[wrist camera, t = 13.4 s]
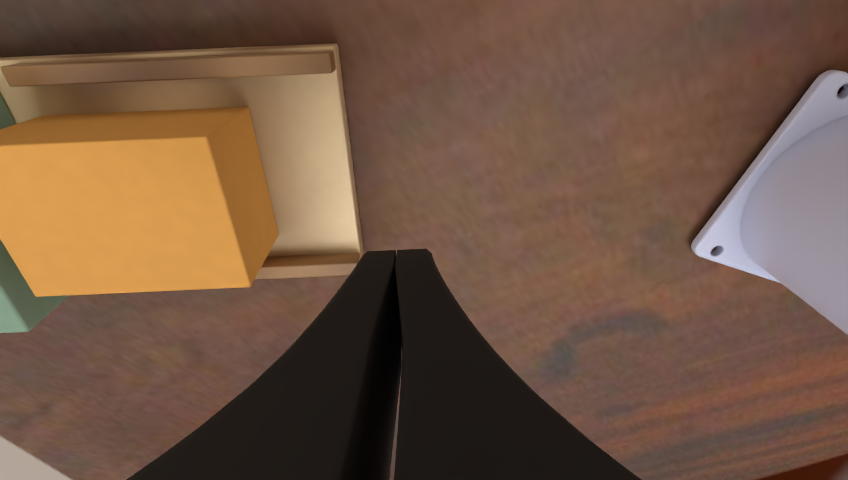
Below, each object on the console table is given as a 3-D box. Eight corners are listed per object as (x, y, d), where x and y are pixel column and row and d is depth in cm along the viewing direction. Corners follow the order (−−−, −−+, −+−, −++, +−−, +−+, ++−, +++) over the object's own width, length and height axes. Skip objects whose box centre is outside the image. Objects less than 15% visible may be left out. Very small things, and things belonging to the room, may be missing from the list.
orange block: (248, 106, 14) (206, 136, 11) (279, 235, 17) (250, 287, 14) (40, 115, 14) (-57, 147, 11) (102, 243, 17) (35, 297, 14)
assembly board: (338, 43, 15) (329, 48, 13) (364, 253, 19) (360, 277, 17) (-169, 64, 14) (-238, 72, 13) (-28, 271, 19) (-68, 296, 17)
